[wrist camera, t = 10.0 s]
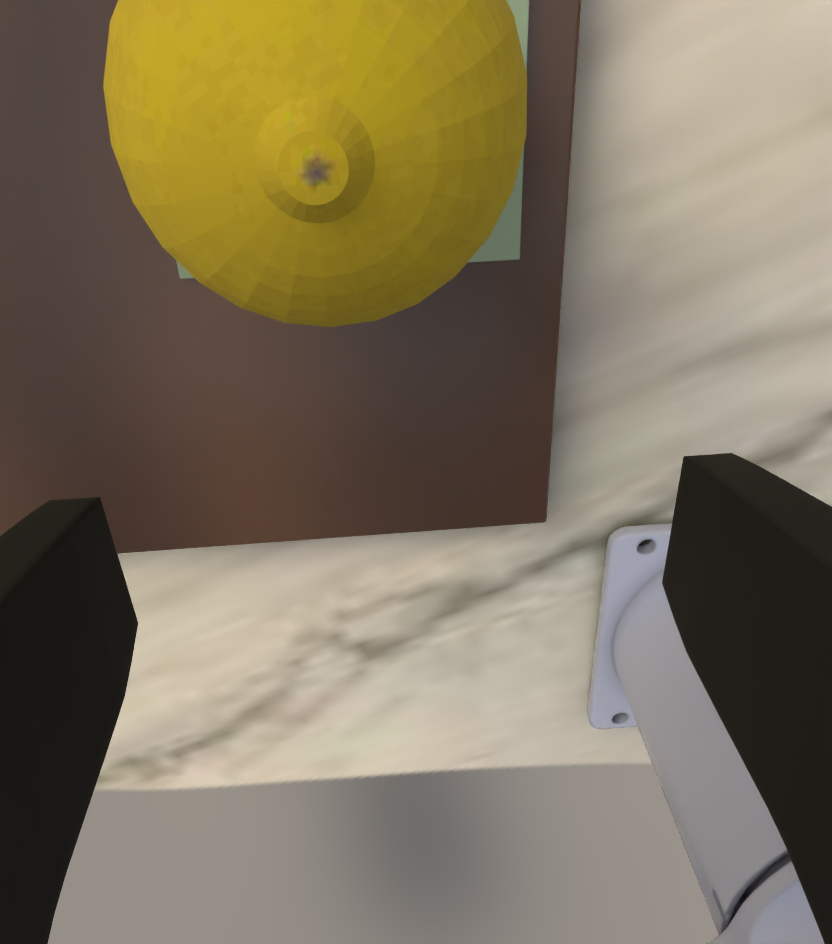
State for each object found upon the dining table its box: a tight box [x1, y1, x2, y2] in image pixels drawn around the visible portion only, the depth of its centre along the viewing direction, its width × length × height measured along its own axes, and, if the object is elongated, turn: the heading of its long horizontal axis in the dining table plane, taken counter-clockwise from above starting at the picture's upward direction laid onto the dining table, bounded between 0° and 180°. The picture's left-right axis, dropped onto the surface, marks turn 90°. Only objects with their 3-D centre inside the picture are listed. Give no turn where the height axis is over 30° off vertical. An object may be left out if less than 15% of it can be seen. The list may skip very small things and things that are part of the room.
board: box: [0, 0, 581, 553], centre depth 16 cm, size 20×15×1 cm
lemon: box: [103, 0, 527, 327], centre depth 11 cm, size 6×6×8 cm
